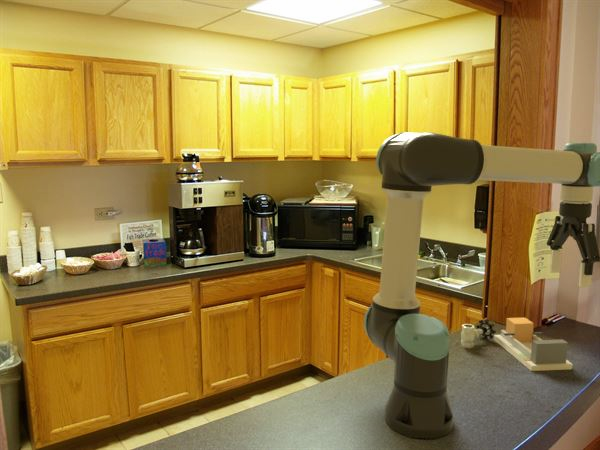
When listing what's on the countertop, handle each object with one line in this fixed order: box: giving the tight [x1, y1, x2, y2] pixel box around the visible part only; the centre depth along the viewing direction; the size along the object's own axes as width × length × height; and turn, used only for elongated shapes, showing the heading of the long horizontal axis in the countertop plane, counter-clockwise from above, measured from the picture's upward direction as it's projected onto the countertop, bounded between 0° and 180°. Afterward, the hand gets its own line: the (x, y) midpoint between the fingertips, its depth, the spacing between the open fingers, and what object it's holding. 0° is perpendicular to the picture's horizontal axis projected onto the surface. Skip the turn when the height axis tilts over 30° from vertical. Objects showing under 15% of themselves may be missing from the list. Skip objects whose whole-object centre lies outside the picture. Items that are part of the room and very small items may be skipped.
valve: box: [460, 318, 497, 349], centre depth 157 cm, size 7×7×12 cm
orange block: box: [504, 317, 544, 342], centre depth 156 cm, size 12×5×6 cm, turn 95°
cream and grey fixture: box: [493, 329, 574, 372], centre depth 149 cm, size 12×22×8 cm, turn 5°
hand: (569, 279), depth 136 cm, fingers open, 13 cm apart
